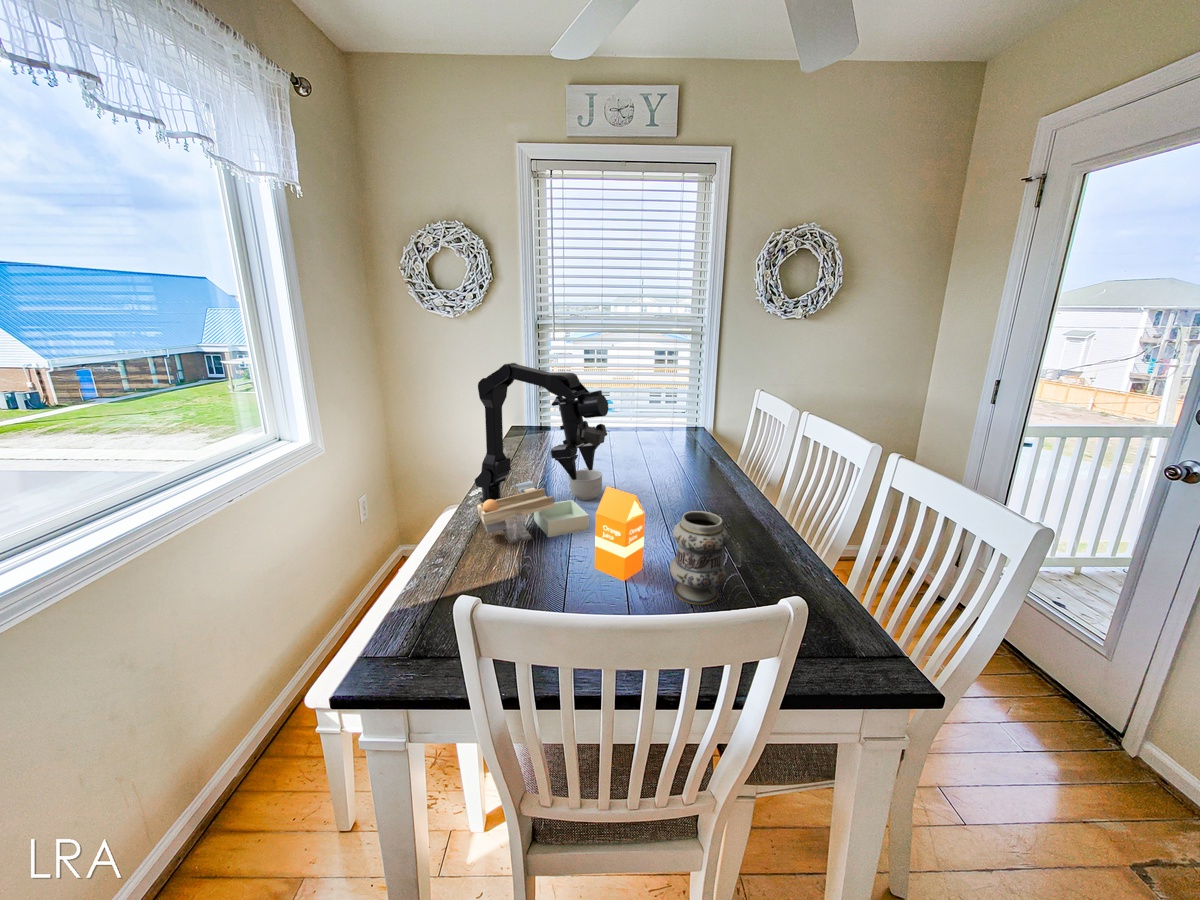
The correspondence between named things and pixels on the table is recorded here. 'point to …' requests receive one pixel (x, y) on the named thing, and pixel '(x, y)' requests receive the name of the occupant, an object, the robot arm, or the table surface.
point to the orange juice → (619, 534)
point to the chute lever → (515, 506)
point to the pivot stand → (516, 530)
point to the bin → (562, 519)
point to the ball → (490, 505)
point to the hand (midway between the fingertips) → (582, 474)
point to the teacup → (586, 484)
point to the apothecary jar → (699, 557)
